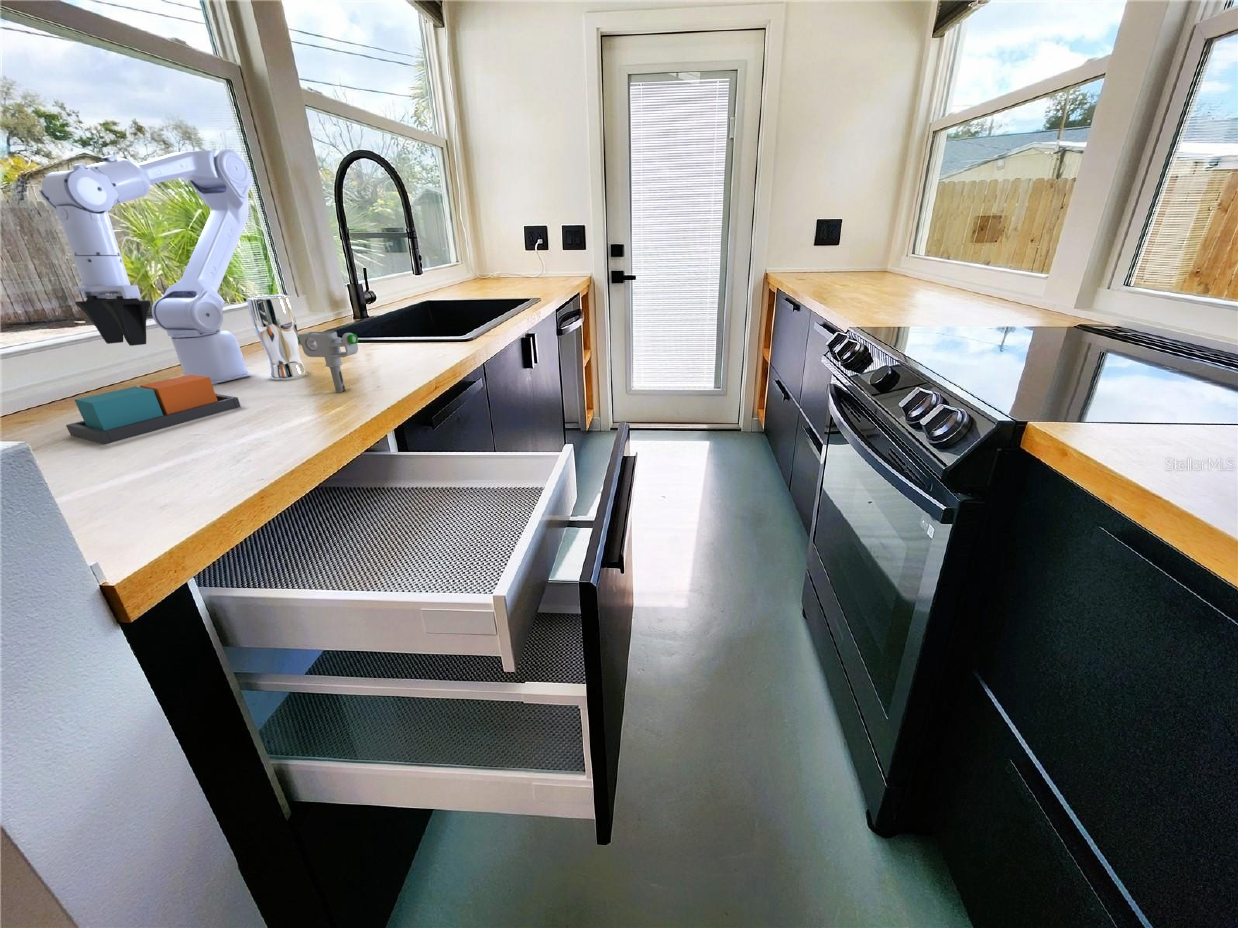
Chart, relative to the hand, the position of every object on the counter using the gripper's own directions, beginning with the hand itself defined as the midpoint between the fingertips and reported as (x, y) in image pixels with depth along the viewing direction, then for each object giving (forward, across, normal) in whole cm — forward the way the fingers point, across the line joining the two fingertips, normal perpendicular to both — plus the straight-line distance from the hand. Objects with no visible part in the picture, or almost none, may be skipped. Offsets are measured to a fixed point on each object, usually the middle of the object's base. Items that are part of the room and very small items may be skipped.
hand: (126, 344), depth 89 cm
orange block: (+9, +19, -2) cm, 21 cm away
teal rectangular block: (+10, +19, -10) cm, 23 cm away
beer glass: (+8, +10, +20) cm, 24 cm away
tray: (+10, +19, -6) cm, 22 cm away
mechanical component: (+9, +30, +16) cm, 35 cm away
